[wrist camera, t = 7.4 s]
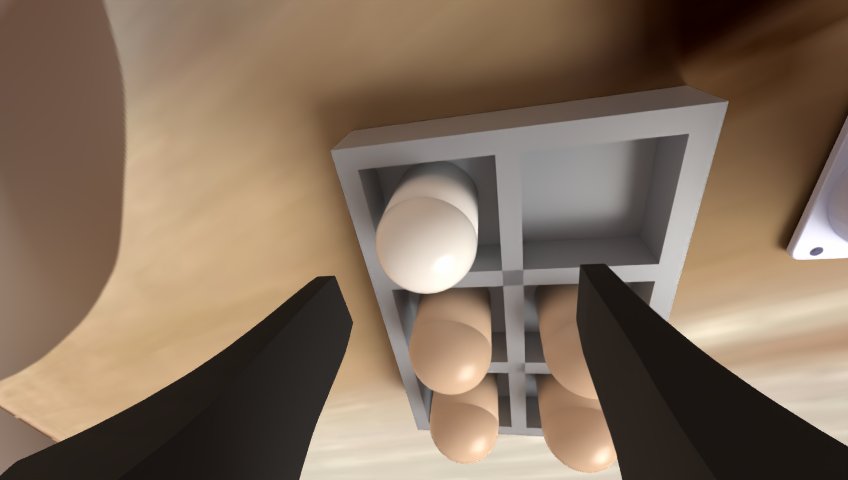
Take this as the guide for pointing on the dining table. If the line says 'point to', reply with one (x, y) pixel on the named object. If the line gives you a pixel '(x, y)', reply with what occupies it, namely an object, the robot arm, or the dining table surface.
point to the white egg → (429, 228)
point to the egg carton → (534, 255)
